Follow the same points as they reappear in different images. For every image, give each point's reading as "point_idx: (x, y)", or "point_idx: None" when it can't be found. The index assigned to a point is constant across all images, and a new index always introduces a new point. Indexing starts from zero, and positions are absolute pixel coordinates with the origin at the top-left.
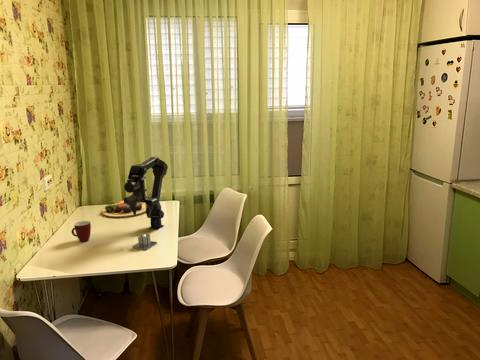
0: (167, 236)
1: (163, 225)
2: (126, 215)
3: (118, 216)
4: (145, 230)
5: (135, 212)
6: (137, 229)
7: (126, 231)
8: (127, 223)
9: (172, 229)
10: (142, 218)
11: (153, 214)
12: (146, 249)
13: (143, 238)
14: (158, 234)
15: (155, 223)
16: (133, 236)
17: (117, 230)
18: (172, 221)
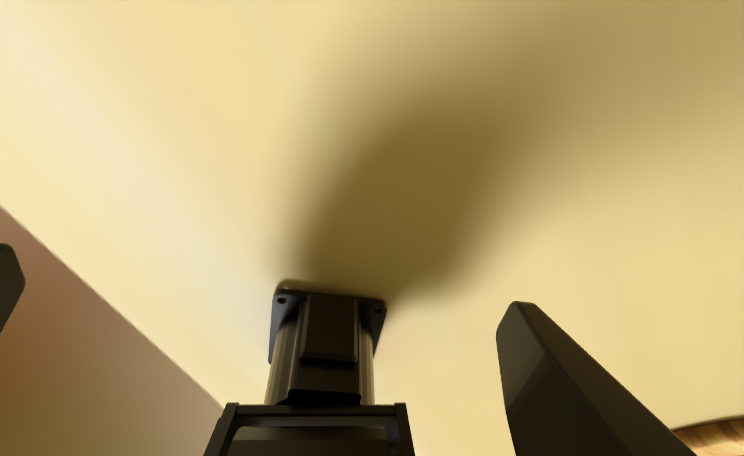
0: (16, 135)
1: (269, 360)
2: None
3: (741, 435)
4: (395, 252)
5: (518, 384)
6: (494, 262)
7: (604, 197)
8: (636, 358)
9: (135, 311)
10: None
11: (276, 444)
12: None
13: None
14: (177, 175)
15: (295, 342)
16: (462, 58)
17: (718, 207)
18: None
